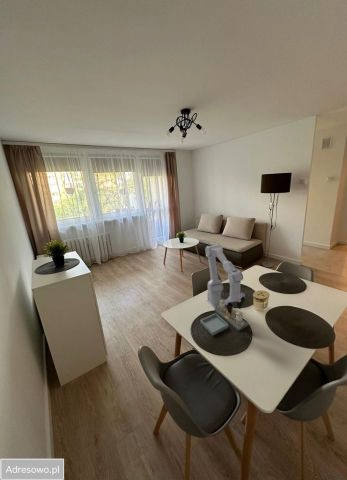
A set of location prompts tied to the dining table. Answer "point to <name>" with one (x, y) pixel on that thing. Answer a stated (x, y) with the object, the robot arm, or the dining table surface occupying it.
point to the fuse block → (231, 318)
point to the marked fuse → (229, 313)
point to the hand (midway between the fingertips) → (234, 310)
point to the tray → (214, 324)
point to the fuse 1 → (222, 304)
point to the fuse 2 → (239, 317)
